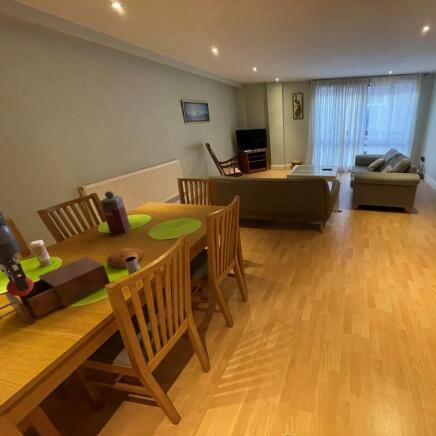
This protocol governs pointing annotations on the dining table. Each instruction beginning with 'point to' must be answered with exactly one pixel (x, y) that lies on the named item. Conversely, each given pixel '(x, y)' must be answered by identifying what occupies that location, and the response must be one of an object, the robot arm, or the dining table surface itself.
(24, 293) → the onion
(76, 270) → the cabinet
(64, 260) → the dining table surface
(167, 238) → the dining table surface
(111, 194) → the maroon canister
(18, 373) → the dining table surface
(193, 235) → the dining table surface
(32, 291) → the drawer
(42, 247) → the sprinkles bottle
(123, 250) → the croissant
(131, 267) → the planter
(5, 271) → the robot arm
